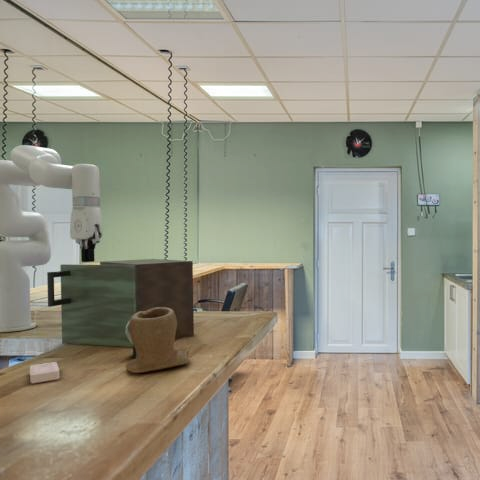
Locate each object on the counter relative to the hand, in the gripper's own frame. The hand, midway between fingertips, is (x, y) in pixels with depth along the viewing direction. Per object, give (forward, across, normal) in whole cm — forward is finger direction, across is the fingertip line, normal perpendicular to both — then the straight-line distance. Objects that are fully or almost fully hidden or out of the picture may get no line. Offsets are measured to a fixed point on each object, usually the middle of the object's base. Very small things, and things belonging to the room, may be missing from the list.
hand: (88, 261), depth 145 cm
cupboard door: (+25, +10, -6) cm, 28 cm away
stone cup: (+26, +47, -12) cm, 55 cm away
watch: (+25, +33, -6) cm, 42 cm away
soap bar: (+25, +28, -28) cm, 47 cm away
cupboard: (+25, +11, +12) cm, 30 cm away
